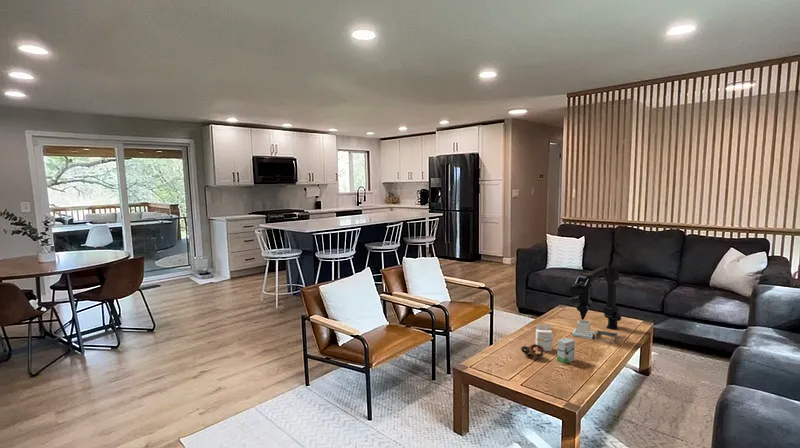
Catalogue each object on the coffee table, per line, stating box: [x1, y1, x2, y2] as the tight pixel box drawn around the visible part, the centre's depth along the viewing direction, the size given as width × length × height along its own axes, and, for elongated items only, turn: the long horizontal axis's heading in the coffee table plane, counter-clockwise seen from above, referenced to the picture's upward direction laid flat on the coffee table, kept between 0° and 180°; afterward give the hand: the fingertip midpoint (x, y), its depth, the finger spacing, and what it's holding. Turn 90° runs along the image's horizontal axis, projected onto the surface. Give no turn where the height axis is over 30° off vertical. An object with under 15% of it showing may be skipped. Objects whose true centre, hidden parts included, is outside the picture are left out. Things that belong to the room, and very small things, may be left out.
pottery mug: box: [520, 343, 544, 361], centre depth 230 cm, size 12×10×8 cm
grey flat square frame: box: [594, 329, 618, 344], centre depth 255 cm, size 12×12×2 cm
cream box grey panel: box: [576, 319, 591, 336], centre depth 260 cm, size 5×7×9 cm
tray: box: [571, 328, 595, 340], centre depth 260 cm, size 10×12×2 cm
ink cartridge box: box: [534, 323, 553, 352], centre depth 240 cm, size 9×5×15 cm, turn 84°
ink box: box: [556, 337, 576, 364], centre depth 225 cm, size 9×5×12 cm, turn 117°
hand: (583, 317), depth 259 cm, fingers open, 9 cm apart
